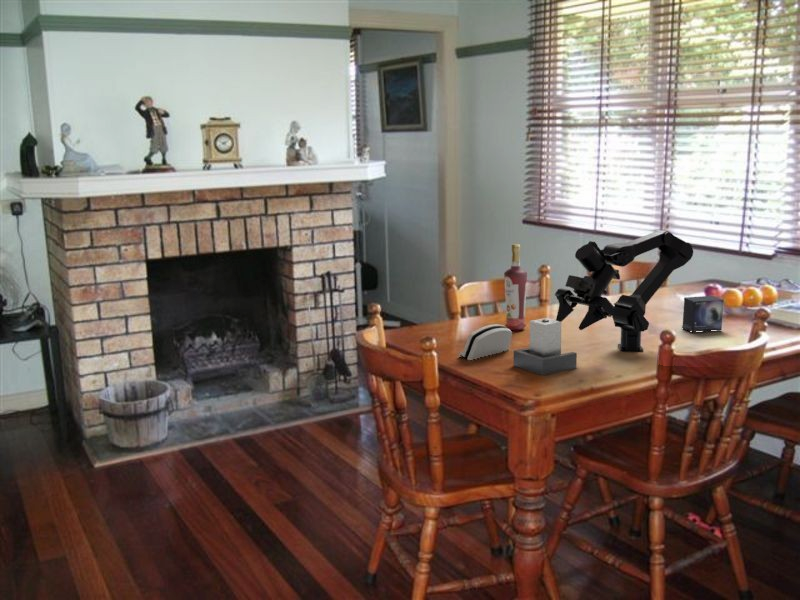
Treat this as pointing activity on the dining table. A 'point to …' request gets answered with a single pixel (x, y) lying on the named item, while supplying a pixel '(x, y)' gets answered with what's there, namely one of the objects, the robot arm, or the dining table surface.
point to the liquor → (515, 292)
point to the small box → (702, 313)
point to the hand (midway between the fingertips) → (568, 326)
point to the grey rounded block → (487, 341)
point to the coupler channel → (544, 362)
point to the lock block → (545, 337)
